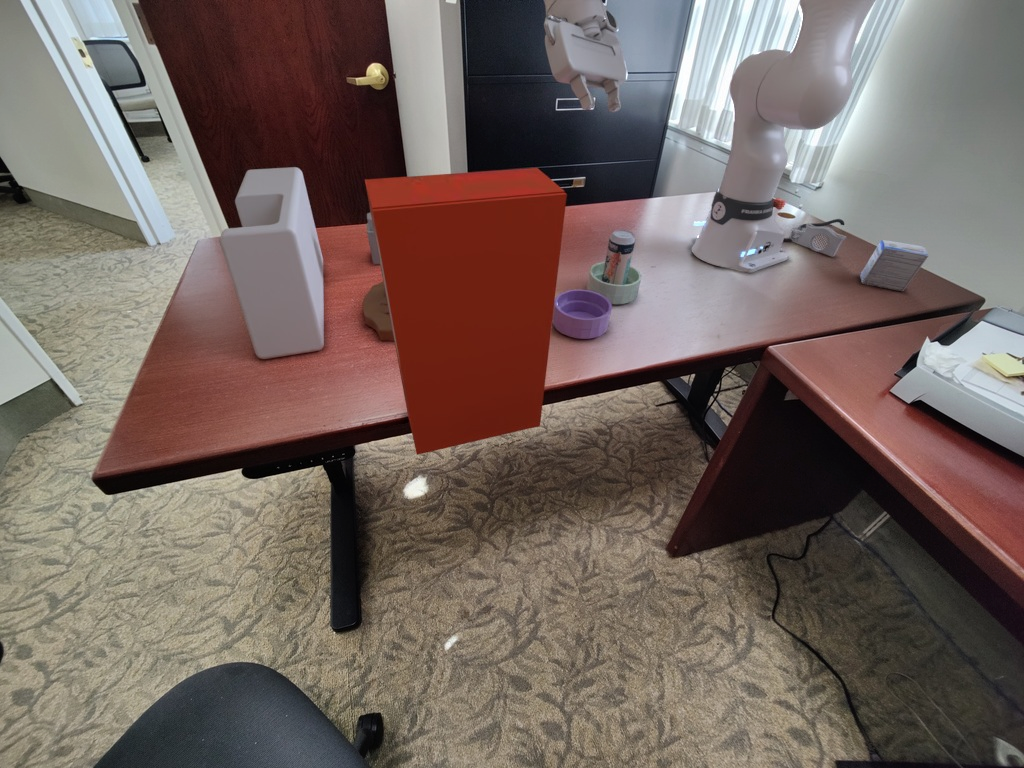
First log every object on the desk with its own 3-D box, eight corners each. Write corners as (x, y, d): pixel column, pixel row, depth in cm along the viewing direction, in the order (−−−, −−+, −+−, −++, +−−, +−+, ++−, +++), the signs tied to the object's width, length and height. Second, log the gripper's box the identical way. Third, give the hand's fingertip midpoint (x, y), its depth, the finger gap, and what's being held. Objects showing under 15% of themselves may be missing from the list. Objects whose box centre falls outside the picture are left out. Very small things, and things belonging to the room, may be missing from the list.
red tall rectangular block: (540, 428, 61) (567, 192, 40) (417, 457, 57) (372, 208, 35) (521, 391, 67) (535, 166, 45) (407, 414, 62) (364, 178, 41)
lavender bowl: (591, 306, 86) (594, 286, 83) (617, 335, 79) (622, 314, 76) (543, 314, 83) (545, 294, 80) (566, 345, 76) (569, 323, 73)
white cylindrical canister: (597, 285, 91) (607, 228, 83) (619, 285, 92) (632, 228, 84) (603, 297, 88) (614, 239, 80) (626, 296, 88) (639, 239, 80)
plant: (356, 294, 86) (343, 239, 79) (451, 277, 93) (448, 225, 85) (375, 352, 73) (361, 292, 65) (484, 328, 79) (483, 271, 72)
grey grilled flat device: (786, 240, 113) (796, 217, 109) (789, 238, 114) (800, 216, 110) (832, 258, 106) (845, 234, 102) (836, 256, 107) (849, 232, 103)
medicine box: (899, 283, 97) (925, 246, 91) (903, 292, 94) (930, 254, 88) (858, 275, 99) (881, 238, 94) (861, 284, 96) (884, 246, 90)
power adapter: (386, 252, 101) (377, 199, 93) (387, 263, 97) (378, 208, 89) (372, 253, 100) (362, 199, 92) (373, 264, 96) (362, 209, 88)
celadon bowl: (620, 278, 95) (624, 258, 92) (646, 301, 88) (651, 281, 85) (578, 284, 92) (580, 265, 89) (601, 309, 85) (605, 289, 82)
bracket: (287, 320, 97) (244, 170, 85) (336, 313, 99) (301, 167, 88) (256, 361, 70) (188, 150, 58) (325, 350, 72) (273, 146, 61)
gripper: (557, -4, 64) (587, 94, 67) (621, 21, 78) (643, 102, 80) (526, 26, 68) (555, 117, 71) (591, 45, 82) (614, 120, 85)
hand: (603, 109), depth 76 cm, fingers open, 8 cm apart
